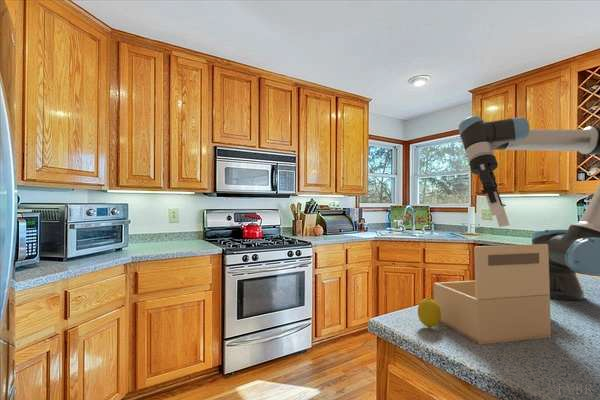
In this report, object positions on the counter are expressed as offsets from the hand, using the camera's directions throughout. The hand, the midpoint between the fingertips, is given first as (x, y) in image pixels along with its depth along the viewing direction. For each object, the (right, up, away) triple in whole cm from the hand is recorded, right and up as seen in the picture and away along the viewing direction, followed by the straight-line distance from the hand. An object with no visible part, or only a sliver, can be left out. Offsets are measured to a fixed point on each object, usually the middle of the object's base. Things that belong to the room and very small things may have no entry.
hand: (501, 220), depth 86 cm
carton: (-11, -27, -10) cm, 31 cm away
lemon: (-26, -27, -11) cm, 39 cm away
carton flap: (-9, -17, -18) cm, 26 cm away
